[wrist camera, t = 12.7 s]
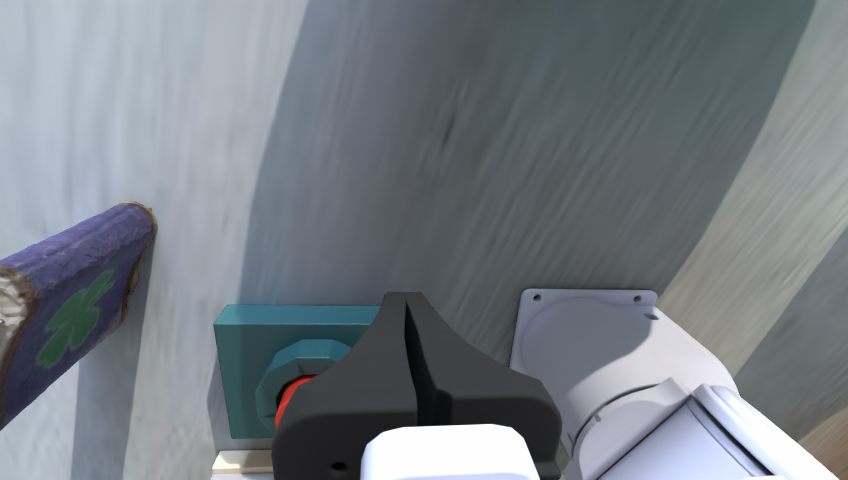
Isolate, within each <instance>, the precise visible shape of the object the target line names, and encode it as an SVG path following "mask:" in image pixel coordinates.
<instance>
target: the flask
mask: <svg viewBox="0 0 848 480" xmlns="http://www.w3.org/2000/svg"><path fill="white" fill-rule="evenodd" d="M156 230H157V223H156V220H155V219H154V216H153V214H152V209H148V208H146V207H144V206H143V205H141V204H139V203H137V202H127V201H125V202H123V203H120V204H118V205H117V206H114V207H112V208H111V209H109V210H107V211H105V212H104V213H101V214H99V215H97V216H94V217H92V218H89V219H87V220H84V221H83V222H81V223H79V224H77V225H75V226H74V227H72V228H69V229H67V230H65V231H63V232H61V233H59V234H56V235H54V236H52V237H49V238H47V239H45V240H43V241H41V242H39V243H37V244H34V245H31V246H29V247H28V248H26V249H24V250H22V251H20V252H18V253H15V254H13V255H11V256H9V257H7V258H4V259H2V260H0V431H1V430H2V429H3V428H4V427H5V426H6V425H7V424H8V423H9V422H10V421H11V420H12V419H14V418H15V417H16V416H17V415H18V414H19V413H20V412H21V411H22V410H23V409H25V408H26V407H27V406H28V405H30V404H31V403H32V402H33V401H34V400H35V399H36V398H37V397H38V396H39V395H40V394H42V393H43V392H44V391H45V390H46V389H47V388H48V387H49V386H50V385H51V384H52V383H53V382H54V381H56V380H57V379H58V378H59V377H60V376H61V375H63V374H64V373H65V372H66V371H67V370H68V369H70V368H71V367H72V366H73V365H74V364H75V363H76V362H77V361H78V360H80V359H81V358H82V357H83V356H85V355H86V354H87V353H88V352H89V351H91V350H92V349H93V348H94V347H95V346H96V345H97V344H99V343H100V342H102V341H103V340H104V339H105V338H106V336H107V335H109V334H110V333H112V332H114V331H115V329H117V328H118V326H119V325H120V323H121V321H122V320H123V318H124V316H125V315H126V314H127V311H128V308H125V307H126V303H127V301H128V299H129V296H130V295H131V292H133V291H134V289H135V286H136V285H138V284H137V280H138V279H139V276H138V275H139V274H137V273H138V271H137V266H138V264H139V262H143V261H144V257H143V252H144V250H145V249H146V248H147V247H148V246H149V245H150V242H151V240H152V238H153V237H154V234H155V231H156Z"/></svg>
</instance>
